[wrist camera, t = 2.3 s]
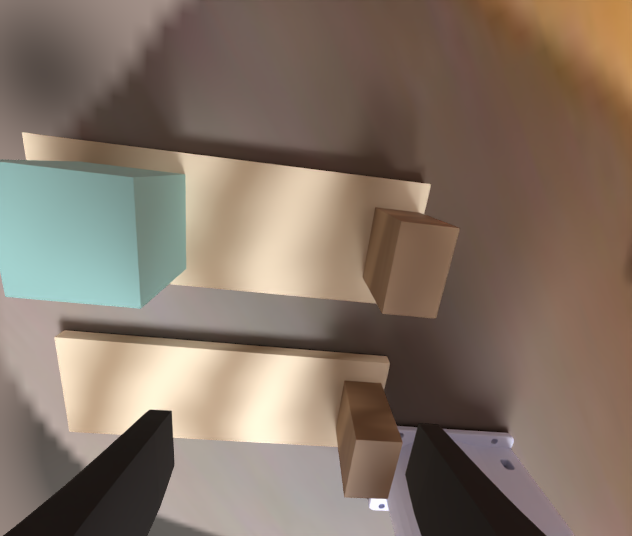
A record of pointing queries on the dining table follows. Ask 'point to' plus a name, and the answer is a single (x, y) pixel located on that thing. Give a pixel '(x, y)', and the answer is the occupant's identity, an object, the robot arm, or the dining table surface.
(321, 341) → the dining table surface
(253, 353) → the empty strip
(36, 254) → the teal block
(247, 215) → the strip
